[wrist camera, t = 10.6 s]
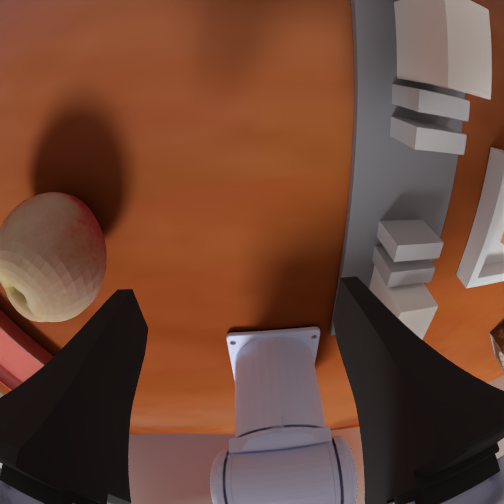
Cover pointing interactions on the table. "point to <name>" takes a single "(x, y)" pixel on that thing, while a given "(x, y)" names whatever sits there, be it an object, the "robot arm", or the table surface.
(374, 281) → the block
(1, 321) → the plant saucer
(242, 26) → the table surface
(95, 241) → the fruit
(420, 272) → the rail
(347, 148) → the table surface
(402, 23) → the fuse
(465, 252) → the tray
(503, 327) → the food container
